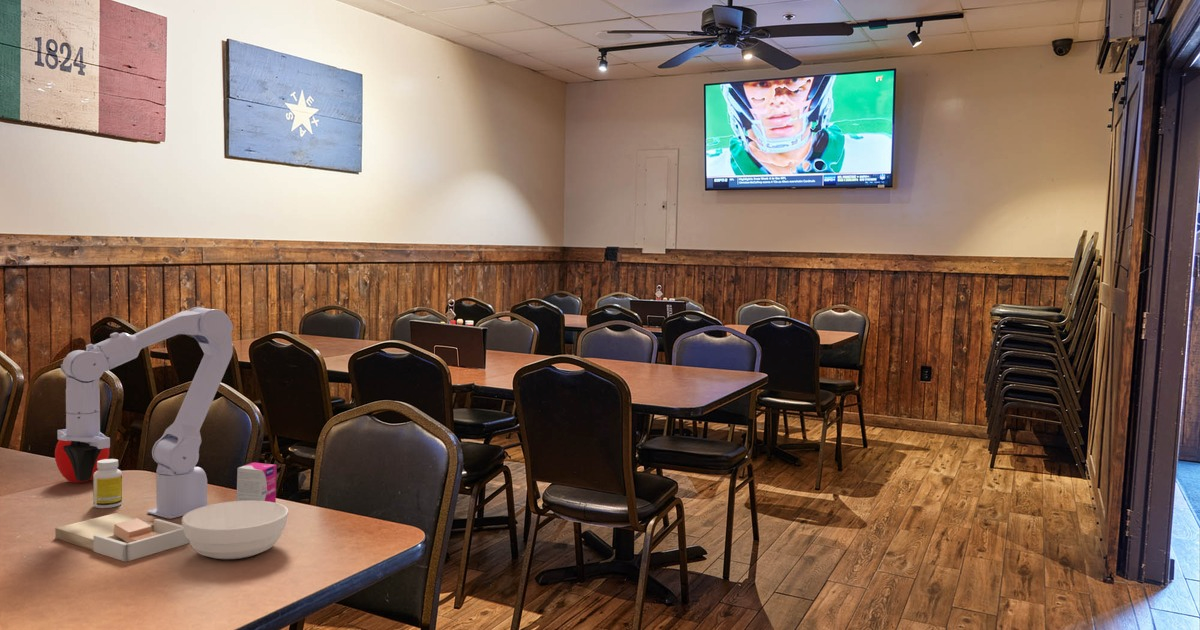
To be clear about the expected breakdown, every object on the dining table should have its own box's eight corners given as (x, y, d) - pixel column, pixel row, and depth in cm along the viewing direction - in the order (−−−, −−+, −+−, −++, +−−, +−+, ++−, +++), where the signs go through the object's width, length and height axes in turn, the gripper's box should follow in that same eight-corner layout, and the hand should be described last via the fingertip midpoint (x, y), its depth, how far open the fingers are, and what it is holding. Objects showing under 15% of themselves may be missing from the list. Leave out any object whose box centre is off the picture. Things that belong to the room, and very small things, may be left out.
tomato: (77, 474, 213) (76, 422, 212) (118, 477, 212) (118, 425, 211) (43, 486, 201) (42, 431, 201) (86, 489, 200) (86, 434, 199)
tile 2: (150, 541, 165) (150, 531, 165) (165, 546, 163) (165, 535, 163) (127, 548, 161) (127, 537, 161) (142, 552, 159) (142, 542, 159)
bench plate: (116, 522, 177) (116, 512, 176) (156, 534, 170) (156, 524, 170) (55, 538, 166) (55, 527, 166) (95, 551, 160) (95, 540, 160)
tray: (157, 533, 170) (157, 518, 170) (189, 542, 166) (189, 527, 166) (93, 551, 160) (93, 535, 159) (125, 561, 155) (125, 545, 155)
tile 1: (136, 527, 167) (137, 518, 167) (150, 536, 165) (151, 526, 165) (113, 534, 163) (114, 524, 163) (127, 542, 161) (128, 532, 161)
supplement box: (261, 525, 178) (261, 470, 177) (235, 522, 179) (235, 467, 178) (276, 517, 183) (277, 463, 183) (251, 514, 185) (252, 461, 184)
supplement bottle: (127, 504, 189) (126, 460, 188) (101, 510, 184) (101, 465, 184) (113, 500, 192) (113, 456, 191) (88, 506, 187) (88, 461, 187)
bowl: (308, 544, 167) (308, 507, 167) (240, 575, 150) (240, 534, 150) (232, 531, 173) (232, 496, 173) (158, 561, 156) (158, 521, 156)
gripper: (41, 410, 170) (41, 478, 171) (83, 418, 163) (84, 489, 164) (77, 405, 177) (78, 471, 177) (120, 413, 169) (120, 482, 170)
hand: (83, 479), depth 171 cm, fingers closed
